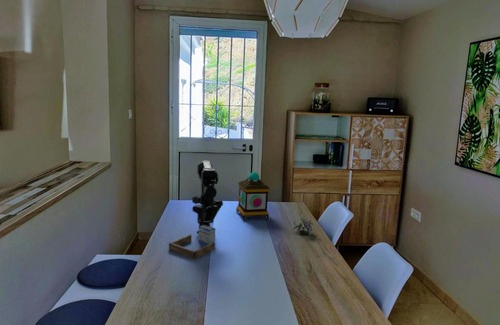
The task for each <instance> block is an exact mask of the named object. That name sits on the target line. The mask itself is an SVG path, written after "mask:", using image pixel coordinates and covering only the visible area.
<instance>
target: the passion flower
mask: <svg viewBox="0 0 500 325" xmlns="http://www.w3.org/2000/svg"><path fill="white" fill-rule="evenodd" d="M300 220H301V222H300V223H299V224H298V225H297V224H296V221H293V225H295V226H294V228H293V230H295V229H296V234H297V233H298V232H299V231H300V229H302V231H305V229H306V232H307V235H309V236H310V235H312V233H311V232H312V231H313V228H312V227H313V226H314V223H313V222H312V220H311V219H309V220H307V219H306V218H303V217H300Z"/></svg>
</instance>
